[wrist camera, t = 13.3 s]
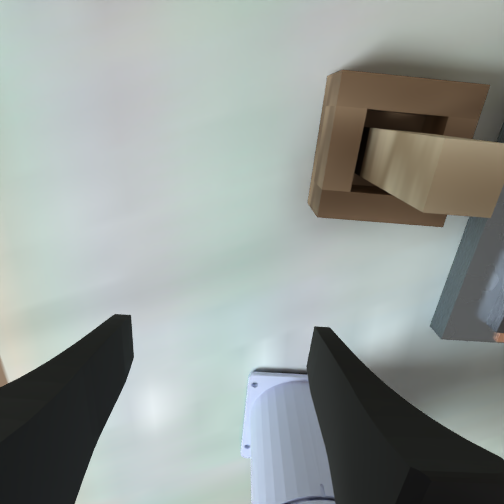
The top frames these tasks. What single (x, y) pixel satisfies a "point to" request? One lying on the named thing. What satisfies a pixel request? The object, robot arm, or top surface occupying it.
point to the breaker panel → (476, 282)
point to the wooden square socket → (386, 117)
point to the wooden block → (433, 170)
